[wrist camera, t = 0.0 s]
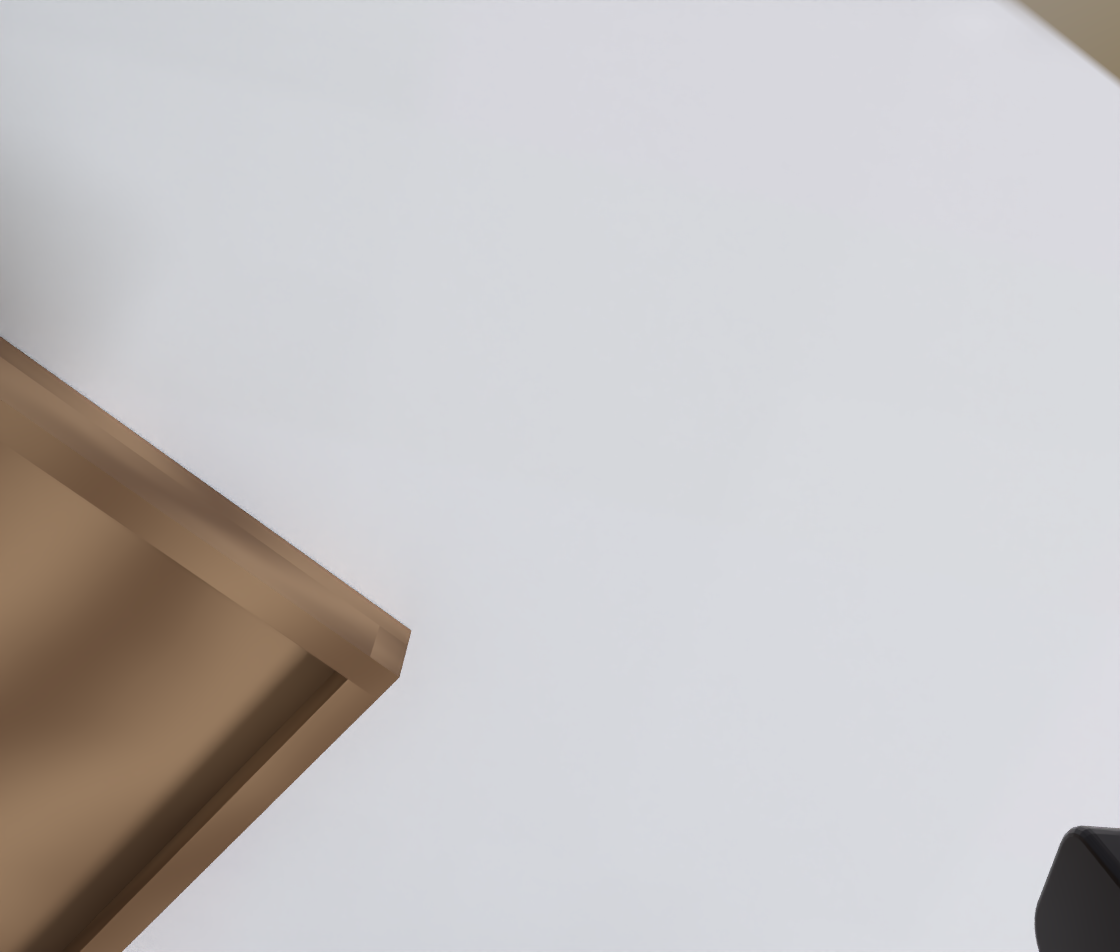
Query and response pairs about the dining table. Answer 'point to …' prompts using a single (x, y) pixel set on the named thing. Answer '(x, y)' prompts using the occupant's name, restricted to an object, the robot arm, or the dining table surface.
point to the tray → (147, 669)
